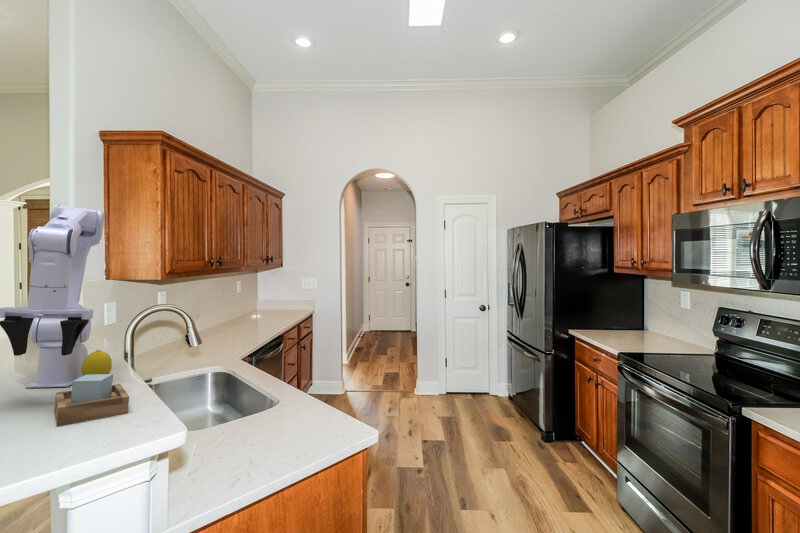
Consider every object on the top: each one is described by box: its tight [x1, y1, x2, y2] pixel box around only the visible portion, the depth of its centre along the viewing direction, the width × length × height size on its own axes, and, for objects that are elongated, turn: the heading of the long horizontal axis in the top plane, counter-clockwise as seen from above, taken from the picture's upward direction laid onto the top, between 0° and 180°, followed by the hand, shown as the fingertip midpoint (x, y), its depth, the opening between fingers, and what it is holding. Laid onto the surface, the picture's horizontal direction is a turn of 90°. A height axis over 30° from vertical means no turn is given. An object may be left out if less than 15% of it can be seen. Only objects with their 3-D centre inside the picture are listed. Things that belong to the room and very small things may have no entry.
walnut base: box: [53, 383, 130, 427], centre depth 69 cm, size 10×10×3 cm
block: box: [71, 373, 114, 404], centre depth 69 cm, size 4×4×4 cm
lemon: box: [81, 349, 113, 376], centre depth 85 cm, size 6×6×8 cm
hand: (43, 354), depth 71 cm, fingers open, 7 cm apart
